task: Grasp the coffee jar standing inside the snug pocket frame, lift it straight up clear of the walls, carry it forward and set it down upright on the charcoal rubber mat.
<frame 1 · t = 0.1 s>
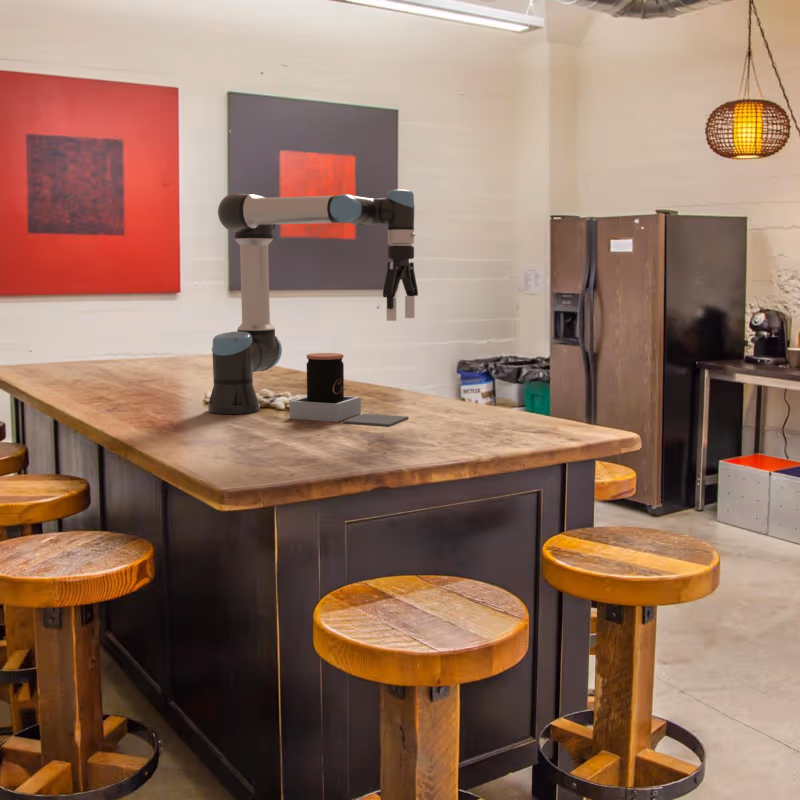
hand: (400, 319, 267), 28 cm above the countertop, fingers open, 13 cm apart
pocket frame: (325, 416, 268), on the countertop
pad: (376, 420, 259), on the countertop
coffee jar: (325, 416, 268), resting in pocket frame
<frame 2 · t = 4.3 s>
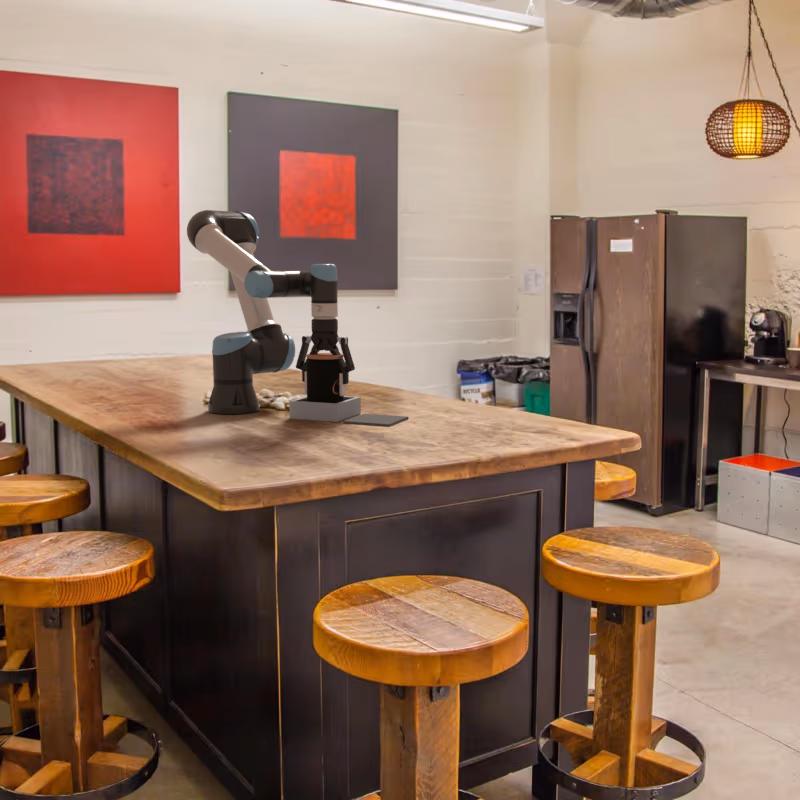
hand: (325, 394, 267), 6 cm above the countertop, fingers closed on coffee jar, 11 cm apart
coffee jar: (325, 416, 268), resting in pocket frame, touching gripper
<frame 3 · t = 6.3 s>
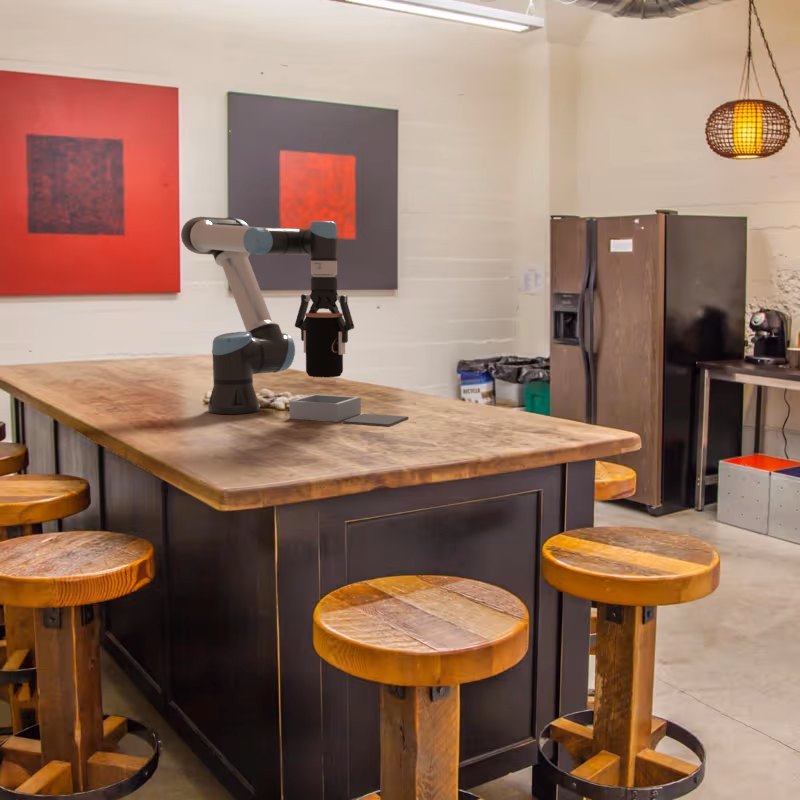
hand: (324, 353, 265), 18 cm above the countertop, fingers closed on coffee jar, 11 cm apart
coffee jar: (324, 376, 266), point 12 cm above the countertop, touching gripper
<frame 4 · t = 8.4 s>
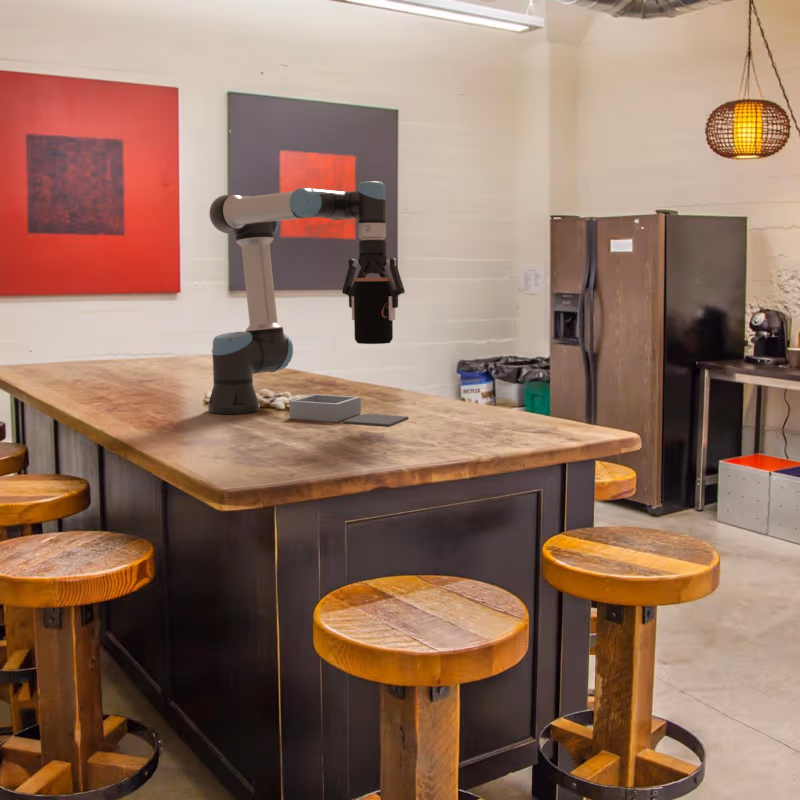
hand: (373, 319, 255), 28 cm above the countertop, fingers closed on coffee jar, 11 cm apart
coffee jar: (373, 343, 256), point 22 cm above the countertop, touching gripper
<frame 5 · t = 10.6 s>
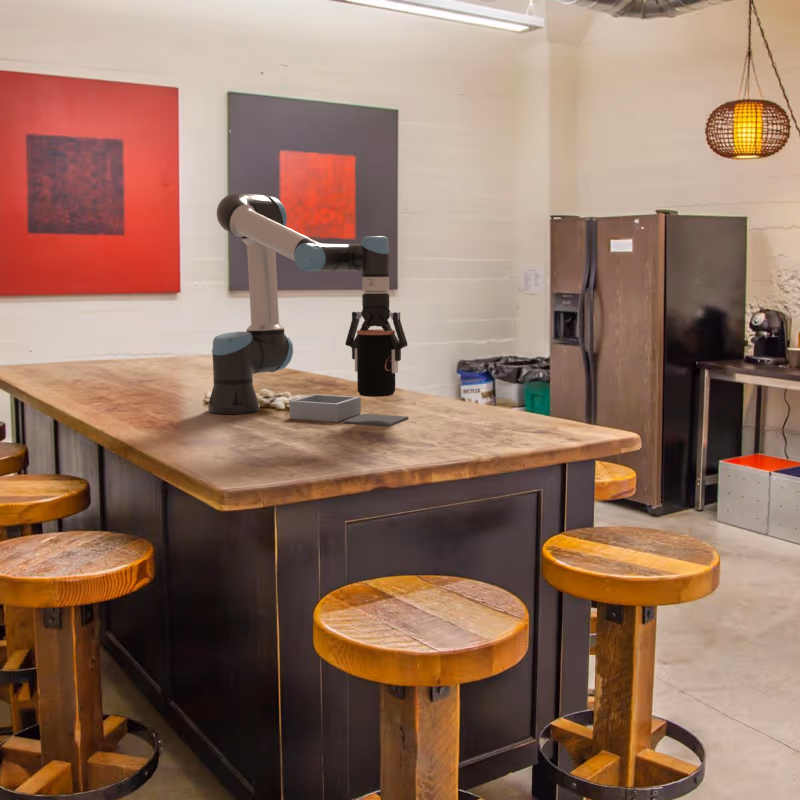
hand: (376, 371, 257), 14 cm above the countertop, fingers closed on coffee jar, 11 cm apart
coffee jar: (376, 395, 258), point 7 cm above the countertop, touching gripper
when the fingers open (9 cm above the countertop, at t = 12.5 s): coffee jar drops 2 cm, resting on pad.
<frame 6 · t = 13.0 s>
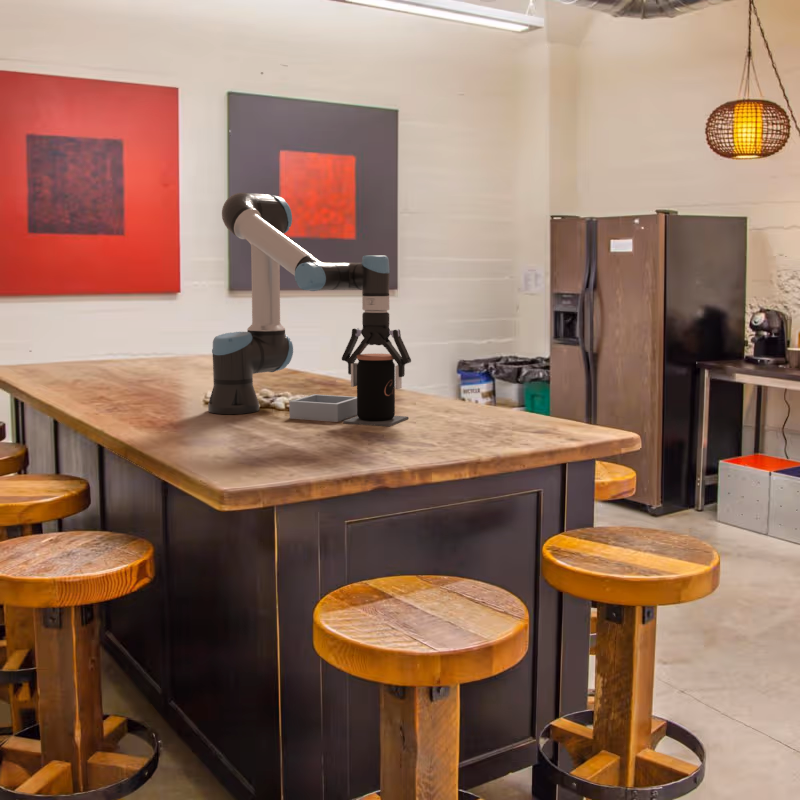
hand: (376, 387, 258), 10 cm above the countertop, fingers open, 13 cm apart
coffee jar: (376, 419, 259), resting on pad
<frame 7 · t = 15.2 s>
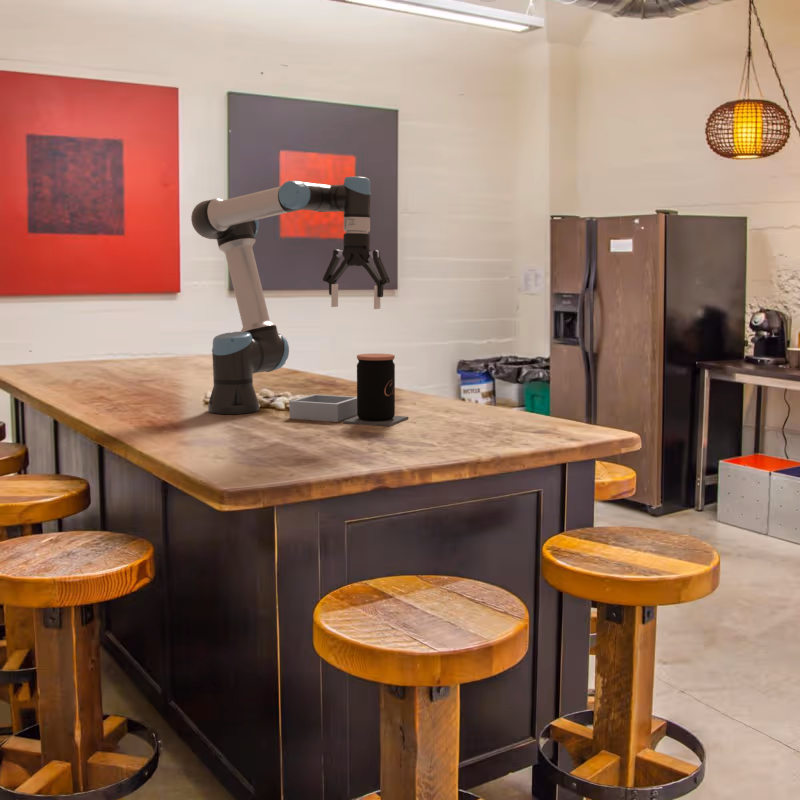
hand: (355, 307, 264), 31 cm above the countertop, fingers open, 13 cm apart
nothing on the countertop moved.
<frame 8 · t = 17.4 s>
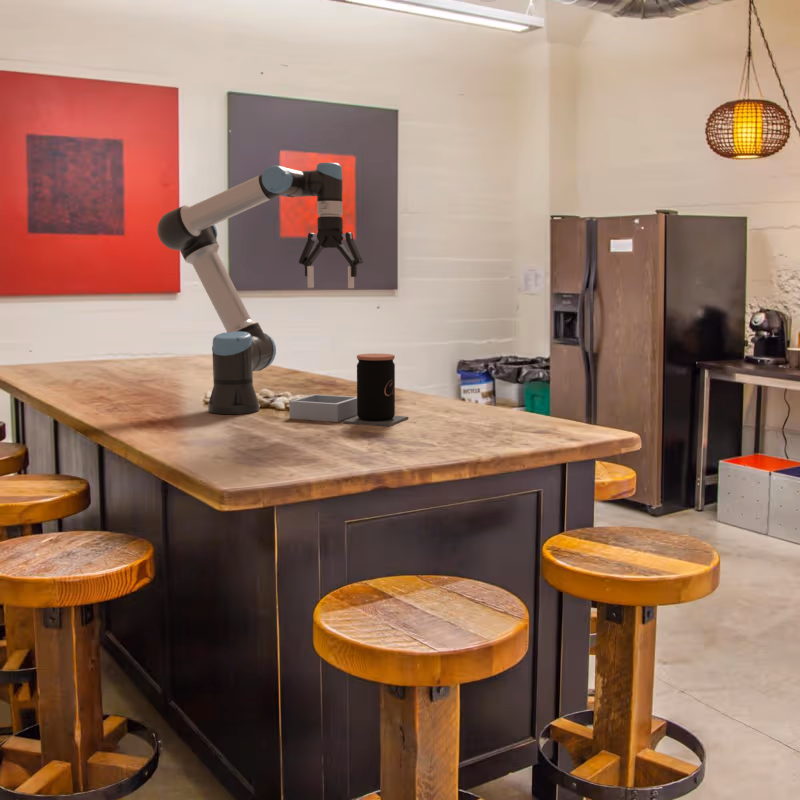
hand: (330, 288, 277), 37 cm above the countertop, fingers open, 13 cm apart
nothing on the countertop moved.
at the end: coffee jar 0.1 cm from the pad (horizontally); coffee jar tilted 0°; coffee jar touching pad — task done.
